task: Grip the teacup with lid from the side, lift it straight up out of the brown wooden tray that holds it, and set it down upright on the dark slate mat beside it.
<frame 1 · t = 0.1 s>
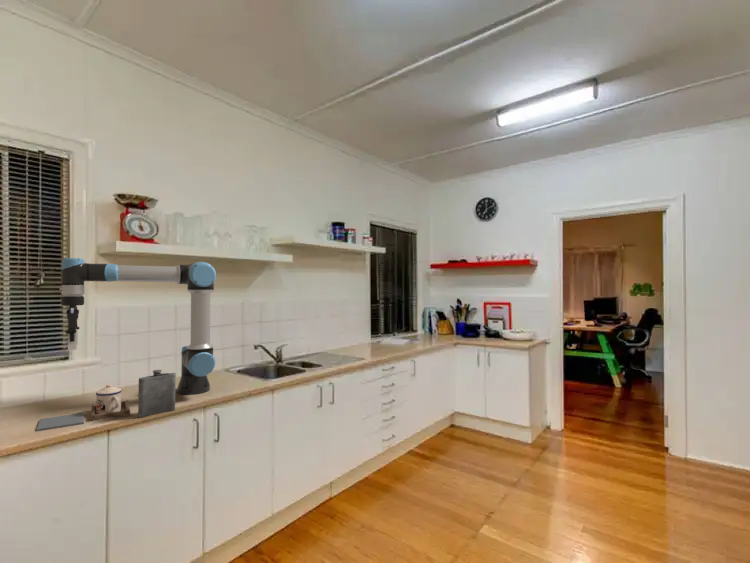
hand: (72, 347, 166), 28 cm above the table, tool pointing down, fingers open, 13 cm apart
slate mat: (61, 422, 157), on the table
teacup with lid: (110, 413, 169), resting in brown wooden tray
flask: (156, 413, 169), on the table
brown wooden tray: (110, 412, 169), on the table
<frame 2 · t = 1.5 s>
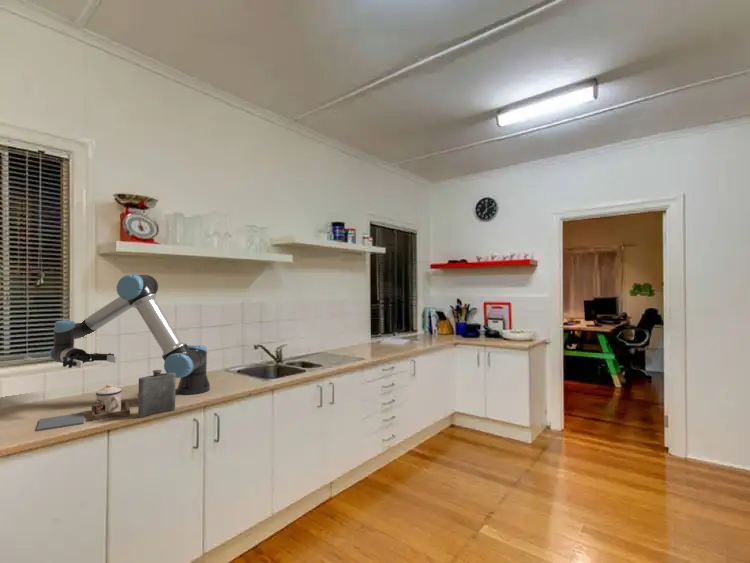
hand: (99, 362, 174), 20 cm above the table, tool horizontal, fingers open, 13 cm apart
nothing on the table moved.
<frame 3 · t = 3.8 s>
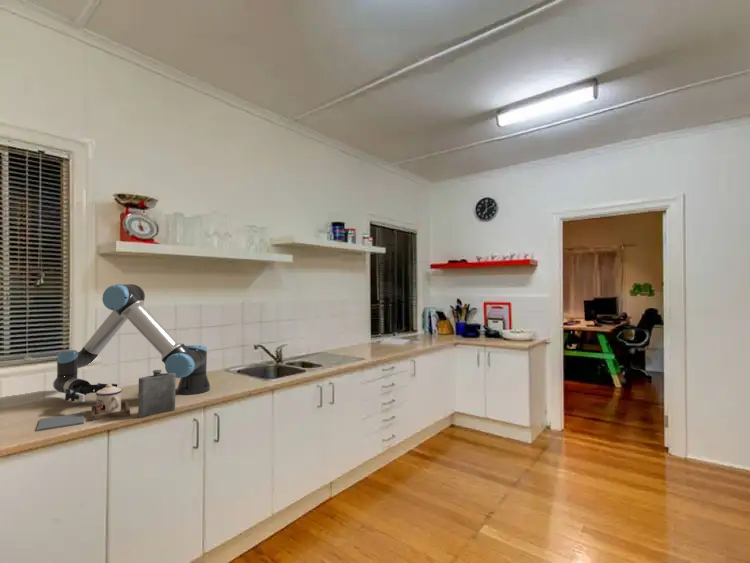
hand: (102, 394, 172), 7 cm above the table, tool horizontal, fingers open, 13 cm apart
nothing on the table moved.
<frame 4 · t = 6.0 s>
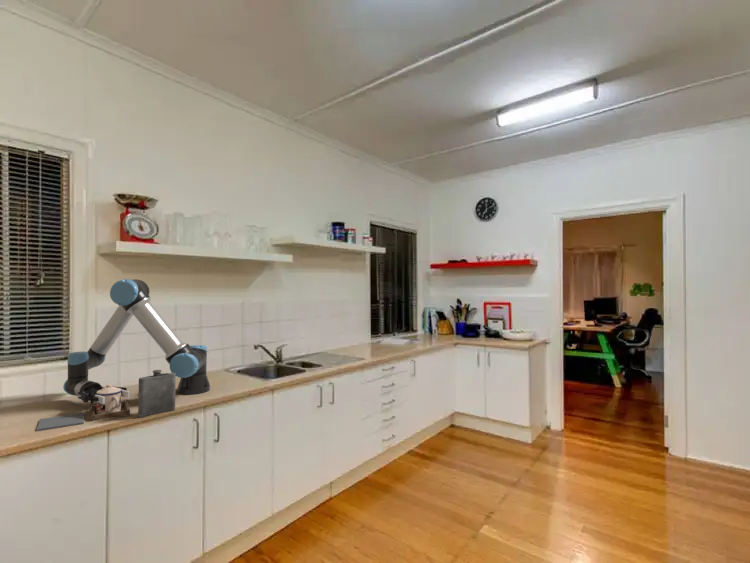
hand: (116, 397, 167), 7 cm above the table, tool horizontal, fingers closed on teacup with lid, 9 cm apart
teacup with lid: (110, 413, 169), resting in brown wooden tray, touching gripper
everything else where it was.
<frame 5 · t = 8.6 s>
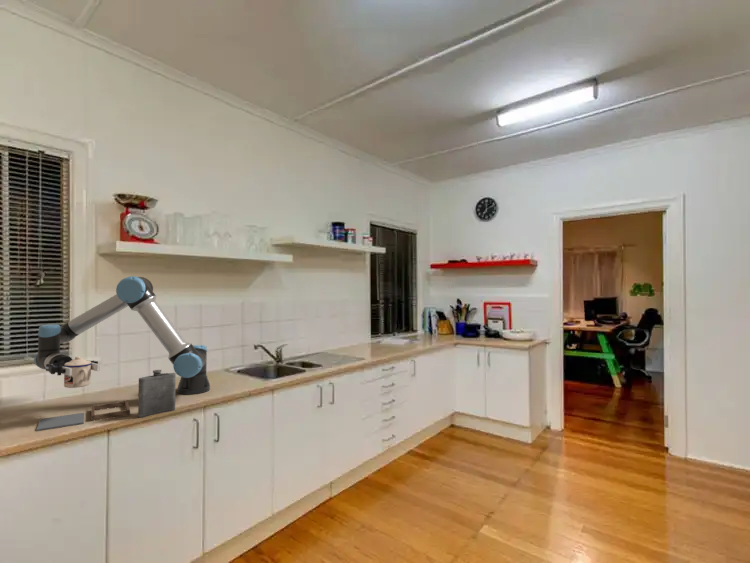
hand: (85, 369, 160), 20 cm above the table, tool horizontal, fingers closed on teacup with lid, 9 cm apart
teacup with lid: (79, 386, 162), point 13 cm above the table, touching gripper
everything else where it was.
when the fingers open (9 cm above the table, at t = 11.4 s): teacup with lid drops 1 cm, resting on slate mat.
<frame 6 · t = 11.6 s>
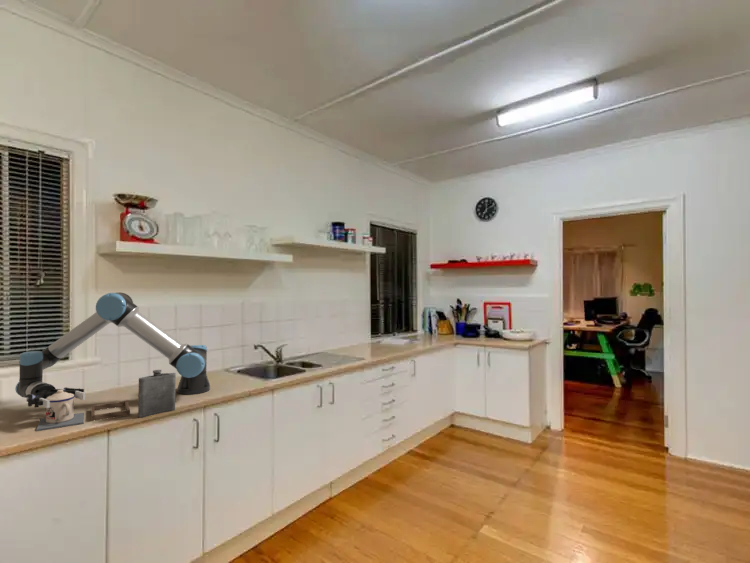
hand: (66, 400, 156), 9 cm above the table, tool horizontal, fingers open, 11 cm apart
teacup with lid: (61, 420, 158), resting on slate mat
everything else where it was.
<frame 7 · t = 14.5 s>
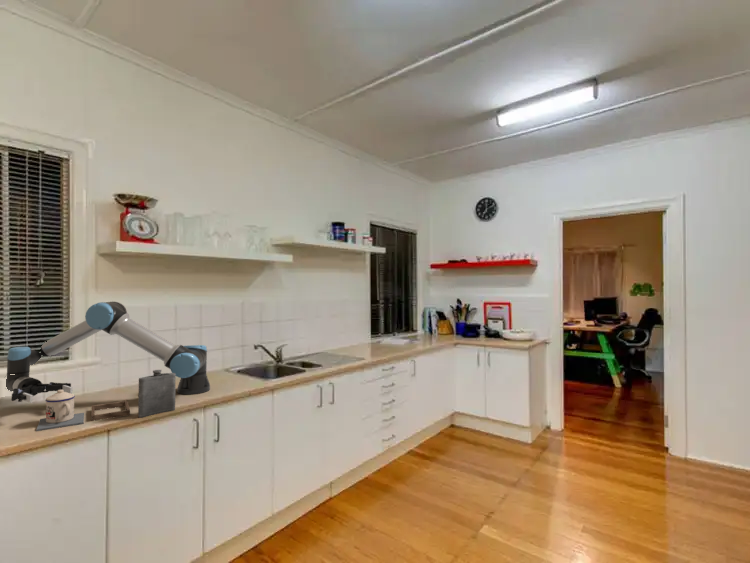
hand: (52, 394, 163), 9 cm above the table, tool horizontal, fingers open, 13 cm apart
nothing on the table moved.
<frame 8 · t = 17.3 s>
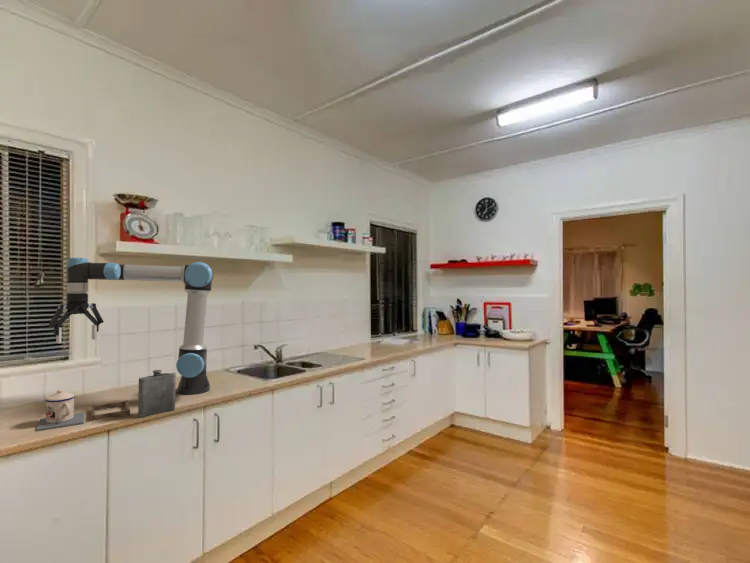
hand: (77, 341, 177), 29 cm above the table, tool pointing down, fingers open, 13 cm apart
nothing on the table moved.
at the end: teacup with lid inside the target area on the slate mat (0.1 cm from its centre), point 0.4 cm above the slate mat's base; teacup with lid tilted 0°; the gripper is holding nothing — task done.
